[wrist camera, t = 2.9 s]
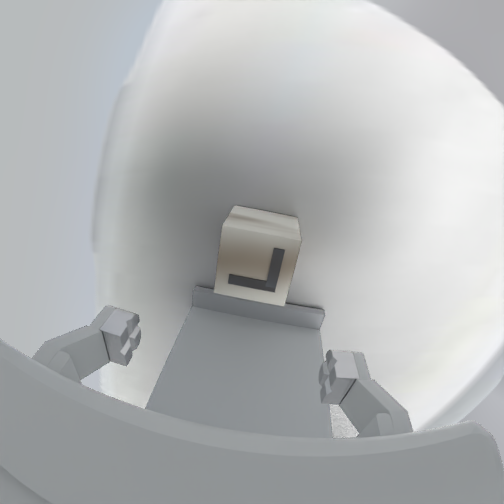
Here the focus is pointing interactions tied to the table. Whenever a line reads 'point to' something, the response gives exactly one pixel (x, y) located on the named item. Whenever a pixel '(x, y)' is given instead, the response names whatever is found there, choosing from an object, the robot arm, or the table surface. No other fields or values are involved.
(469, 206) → the table surface
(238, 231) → the letter cube
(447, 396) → the table surface
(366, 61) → the table surface
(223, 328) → the screen
